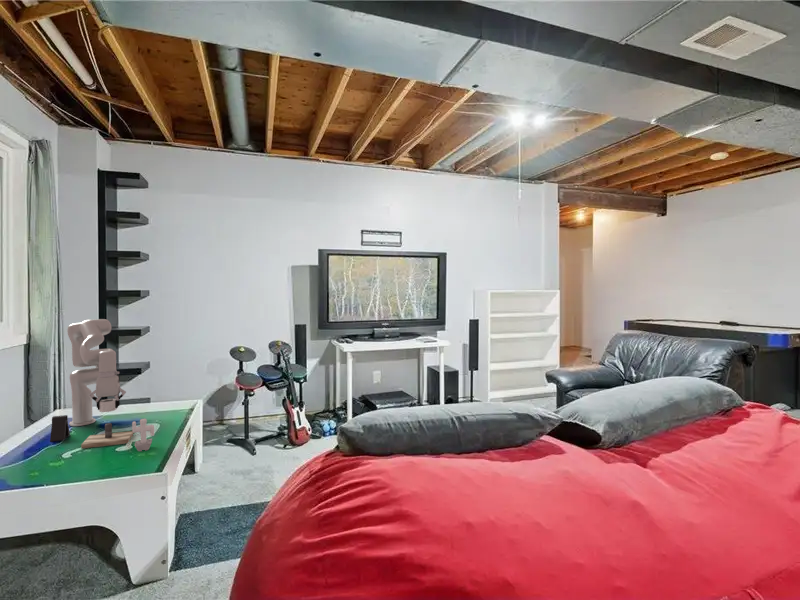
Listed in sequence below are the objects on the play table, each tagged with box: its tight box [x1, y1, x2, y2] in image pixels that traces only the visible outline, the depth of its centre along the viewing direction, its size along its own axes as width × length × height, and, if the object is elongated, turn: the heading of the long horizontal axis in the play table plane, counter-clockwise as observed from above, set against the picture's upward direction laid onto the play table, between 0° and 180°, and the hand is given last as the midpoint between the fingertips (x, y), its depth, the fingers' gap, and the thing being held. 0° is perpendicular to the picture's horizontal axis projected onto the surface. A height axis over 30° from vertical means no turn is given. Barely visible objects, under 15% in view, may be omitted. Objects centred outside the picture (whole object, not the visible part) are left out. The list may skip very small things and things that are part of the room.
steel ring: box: [98, 398, 118, 413], centre depth 224 cm, size 7×7×5 cm
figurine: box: [131, 418, 155, 452], centre depth 213 cm, size 7×9×15 cm
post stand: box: [80, 422, 135, 449], centre depth 224 cm, size 14×20×9 cm
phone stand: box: [49, 414, 71, 442], centre depth 228 cm, size 9×6×12 cm, turn 21°
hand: (108, 408), depth 224 cm, fingers closed on steel ring, 7 cm apart
